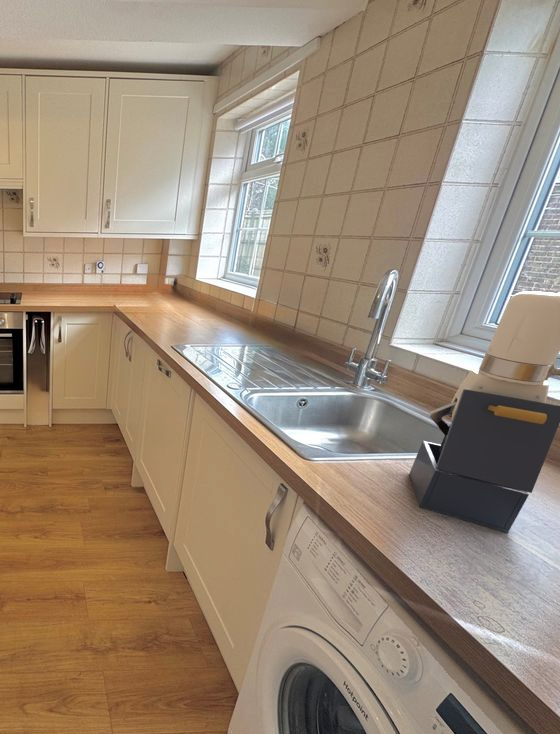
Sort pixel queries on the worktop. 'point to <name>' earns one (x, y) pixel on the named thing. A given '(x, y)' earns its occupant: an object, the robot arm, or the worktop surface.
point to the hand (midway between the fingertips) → (469, 462)
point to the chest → (463, 493)
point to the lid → (499, 439)
